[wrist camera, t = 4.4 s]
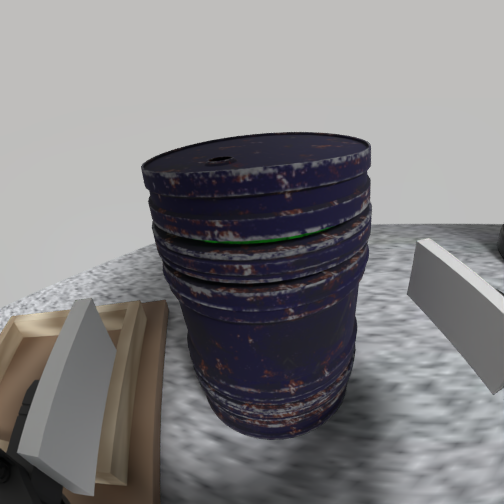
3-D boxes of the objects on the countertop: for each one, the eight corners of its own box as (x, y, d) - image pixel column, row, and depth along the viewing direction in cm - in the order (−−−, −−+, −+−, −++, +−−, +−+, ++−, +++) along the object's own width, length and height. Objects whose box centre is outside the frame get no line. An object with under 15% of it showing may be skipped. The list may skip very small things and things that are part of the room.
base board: (168, 309, 27) (160, 281, 26) (161, 530, 10) (136, 518, 8) (24, 326, 26) (12, 303, 24) (-39, 476, 8) (-65, 454, 6)
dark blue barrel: (244, 319, 25) (218, 135, 18) (360, 343, 21) (378, 134, 14) (177, 409, 17) (89, 181, 10) (323, 460, 13) (360, 178, 6)
